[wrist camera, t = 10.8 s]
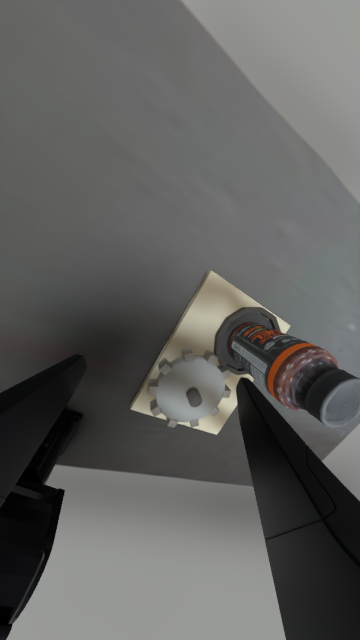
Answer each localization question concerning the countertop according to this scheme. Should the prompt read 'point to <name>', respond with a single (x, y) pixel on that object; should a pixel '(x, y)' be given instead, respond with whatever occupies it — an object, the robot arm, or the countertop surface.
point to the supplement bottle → (297, 373)
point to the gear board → (201, 340)
